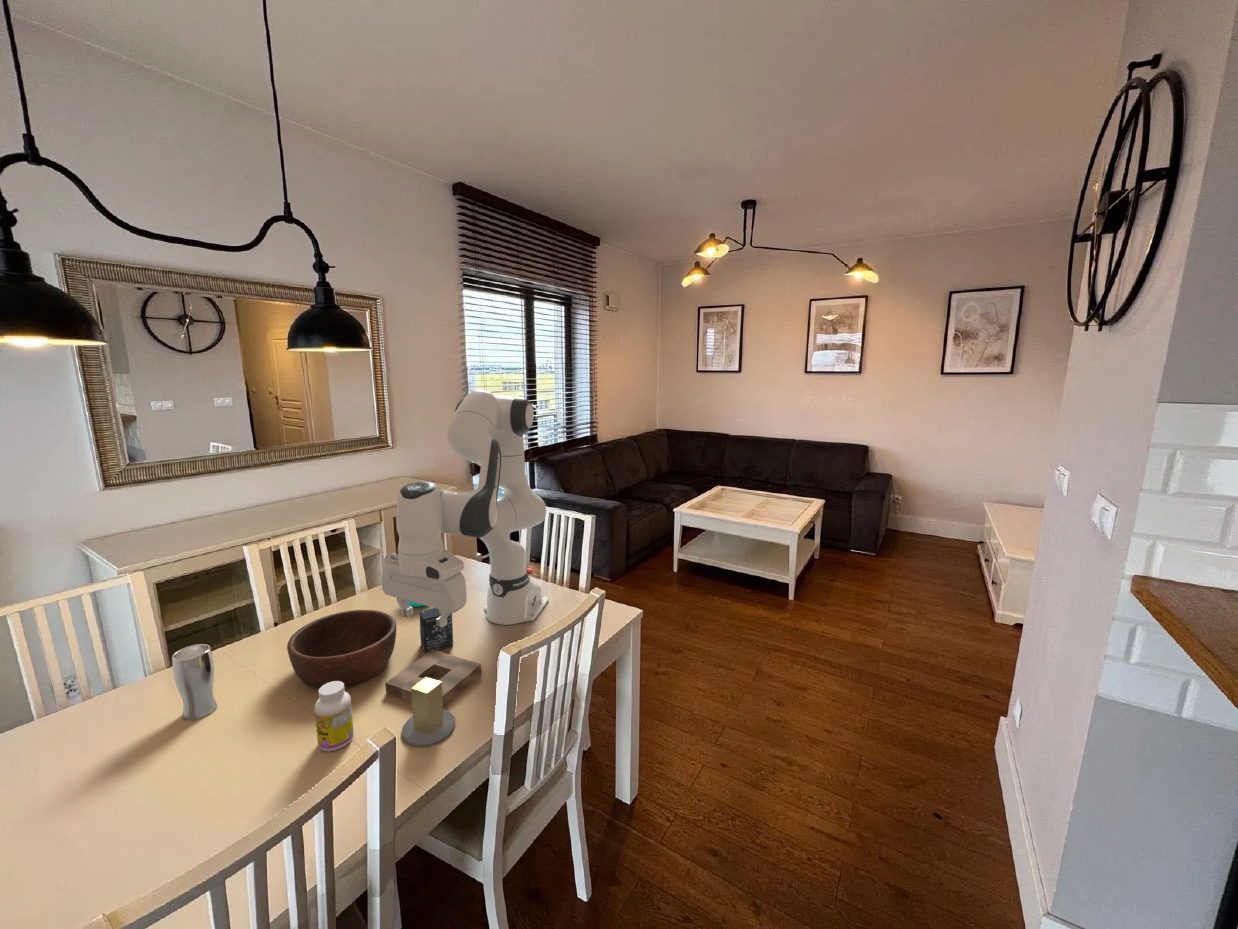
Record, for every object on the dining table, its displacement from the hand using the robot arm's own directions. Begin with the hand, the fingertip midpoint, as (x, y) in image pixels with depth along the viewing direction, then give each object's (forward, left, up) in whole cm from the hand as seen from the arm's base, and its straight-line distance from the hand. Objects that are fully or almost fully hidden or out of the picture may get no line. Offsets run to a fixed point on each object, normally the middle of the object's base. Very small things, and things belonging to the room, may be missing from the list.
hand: (424, 620), depth 108 cm
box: (-26, -21, -26) cm, 42 cm away
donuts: (-45, -45, -26) cm, 68 cm away
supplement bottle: (+12, -14, -26) cm, 32 cm away
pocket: (-12, -9, -25) cm, 29 cm away
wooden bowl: (-8, -35, -26) cm, 44 cm away
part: (+1, +1, -24) cm, 24 cm away
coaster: (+1, +1, -25) cm, 25 cm away
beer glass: (+18, -50, -25) cm, 59 cm away
